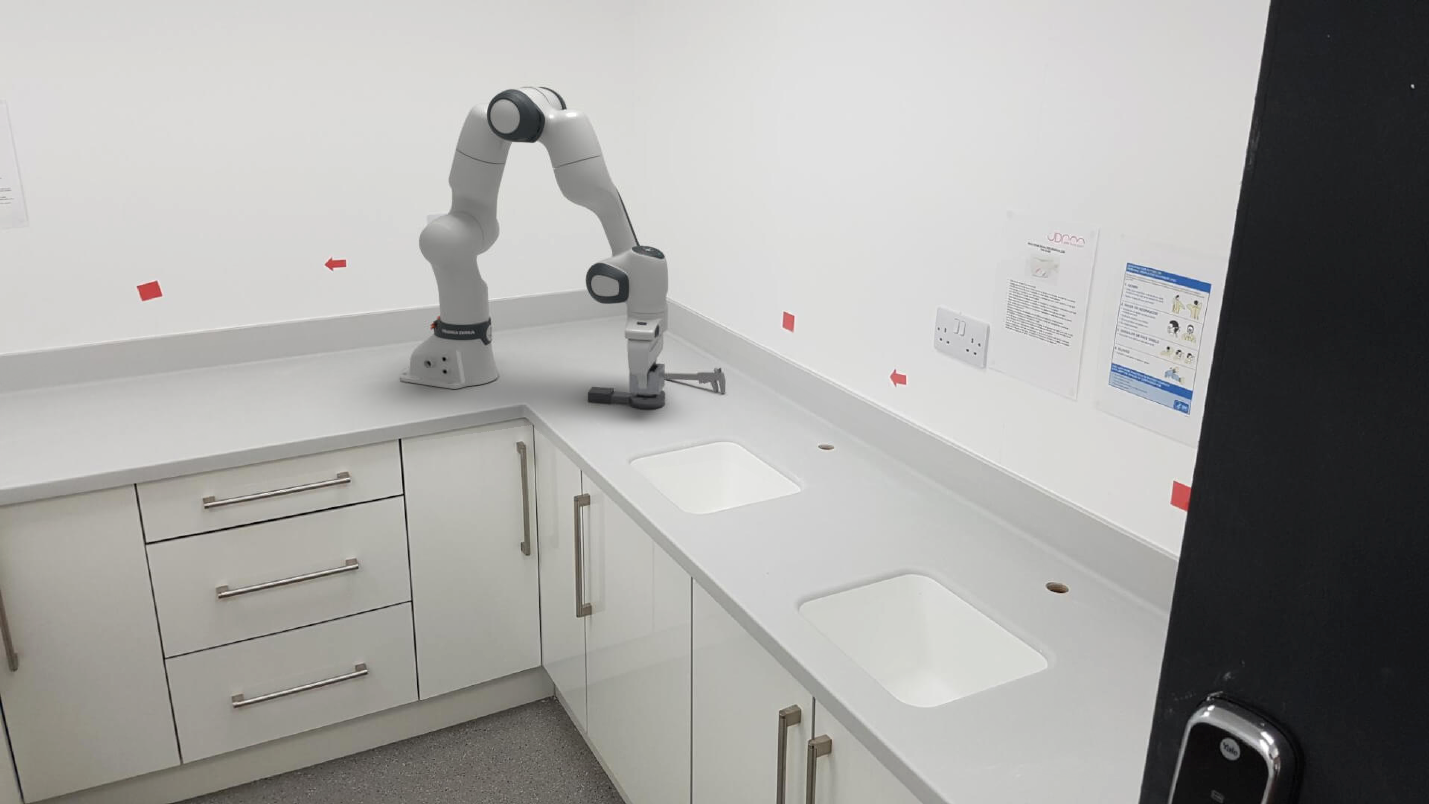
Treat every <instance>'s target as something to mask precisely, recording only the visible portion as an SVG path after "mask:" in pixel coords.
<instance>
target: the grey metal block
mask: <svg viewBox="0 0 1429 804" xmlns="http://www.w3.org/2000/svg"><path fill="white" fill-rule="evenodd" d="M665 365H666V364H665V363H658V362H656V363H653V365H652V366H651V368H650V369H649V371H648V373H647V379H648V386H647V387H646V389H640V388H639V387H638V378H637V375H635V374H631V373H630V371H629V373H628V375H629V376H628V377H629V380H628V382H629V383H628V384H629V385H628V389H629V391H628V393H642V394H656V395H659V394H660V392H661V390H663V388H664V387H665V384H666V383H665V380H666V379H665V373H666V372H665V371H666V369H665V368H666V366H665Z"/></svg>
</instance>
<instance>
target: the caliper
mask: <svg viewBox="0 0 1429 804" xmlns="http://www.w3.org/2000/svg"><path fill="white" fill-rule="evenodd" d="M665 380H670V381H671V380H673V381H675V380H677V381H679V380H680V381H681V380H682V381H698V383H699V385H701V384H704V385H705V384H708V383H710V385H711V387H712V390H713V393H715V394H717V393H719V392H720V394H721V395H722V394H725V393H726V376H725V372H723V371H722V367H715V368H713V371H698V372H697V373H696V372H695V373H694V372H665ZM719 389H720V391H719Z"/></svg>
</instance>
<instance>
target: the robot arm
mask: <svg viewBox="0 0 1429 804" xmlns="http://www.w3.org/2000/svg"><path fill="white" fill-rule="evenodd" d="M567 107H568V106H567V104H566V102H565V100H564V98H563V97H562V96H561V94H559V93H558V92H557V91H555V90H553V89H551V88H548V87H545V86H522V87H519V88H514V89H513V88H509V89H505V90H502V91H501V92H498V93H497V94H496V95H495V96H494V97H493V98H491V100H490V102H489V103H487V102H485V103H479V104H475V105H474V106H473V107H471V109H470V110H469V112H468V114H467V116H466V118H465V120H464V123H463V125H462V127H461V130H460V133H459V136H458V139H457V143H456V147H455V150H454V151H455V152H454V154H453V155H454V156H453V159H452V163H451V166H450V167H451V169H450V170H449V171H450V172H449V175H448V185H449V187H450V188H451V206H450V207H451V208H450V210H449V211H448V213H447V214H445V215H442V216H439V217H435V218H433V220H431V222H429V223H428V224H427V225H426V226H425V227H424V228H423V229H422V231H421V232H420V234H419V238H418V247H419V251H420V252H421V254H422V256H423V257H424V259H425V260H427V262H428V263H429V264H430V265H431V268H432V272H433V274H434V277H435V281H436V284H437V285H436V286H437V290H438V300H439V301H438V302H439V316H437V318H436V319H435V320H434V321H432V323H431V324H430V330H433V334H431V335H430V336H429V337H428V338H426V339H425V340H424V341H423V342H422V343H420V344H419V345H418V346H417V347H415V348H414V349H413V351H412V353H411V355H410V359H409V366H407V367H406V368H404V369H403V370H402V371H401V372H400V378H399V379H400V381H401V382H406V383H410V384H411V383H412V384H419V385H423V386H424V385H425V386H431V387H438V388H444V389H452V390H457V389H461V388H465V387H470V386H477V385H478V386H479V385H483V384H487V383H490V382H493V381H495V380H497V379H498V378H499V376H500V375H499V374H500V373H499V371H498V368H497V365H496V361H495V358H494V353H493V347H492V341H493V326H492V318H491V317H490V310H489V309H490V307H489V306H490V305H489V288H488V285H487V282H486V281H485V280H484V279H483V278H482V274H481V273H480V270H479V266H478V262H477V260H478V256H479V255H481V254H483V253H486V252H487V251H489V249H491V248H492V247H493V245H494V244H495V243H496V242H497V240H498V238H499V236H500V224H499V220H498V218H497V214H498V213H497V212H498V211H497V210H498V196H499V192H500V186H501V183H502V178H503V175H504V172H505V167H506V164H507V160H508V157H509V152H510V149H511V145H512V144H513V143H527V144H533V143H534V144H535V143H536V142H538V143H540V144H542V145H543V146H544V148H545V149H546V151H547V154H548V156H549V159H550V163H551V167H552V170H553V174H554V177H555V180H556V183H557V186H558V188H559V191H560V193H561V194H562V196H563V197H564V198H566V199H567V200H568V201H569V202H571V203H572V204H575V205H577V206H581V207H583V208H586V209H588V210H589V211H591V212H593V213H594V214H595V216H596V217H597V218H598V219H599V221H600V223H601V225H602V228H603V231H604V234H605V236H606V238H607V241H608V244H609V247H610V249H611V256H610V257H608V258H604V259H602V260H599V261H597V262H596V263H594V264H593V265H591V266H590V267H589V268H588V270H587V271H586V274H585V275H586V276H585V285H586V286H585V287H586V290H587V292H588V294H589V296H590V297H591V298H592V300H594V301H595V302H598V303H599V304H603V305H604V304H605V305H606V304H607V305H608V304H609V305H612V304H623V303H624V304H625V305H626V313H627V314H626V325H625V328H624V339H627V345H626V347H627V363H628V370H629V371H630V373H631V374H635V375H637V378H638V387H639V388H640V389H646V387H647V386H648V379H647V373H648V371H649V369H650V368H651V366H652V365H653V363H657V362H658V361H657V360H658V357H659V356H660V354H661V353H662V352H663V349H664V333H665V332H667V331H668V327H669V326H668V324H669V323H668V322H669V321H668V319H669V317H668V316H669V314H668V311H669V305H668V302H667V294H668V291H669V270H668V269H669V268H668V262H667V259H666V255H665V254H664V252H663V251H662V250H660V249H658V248H655V247H653V246H651V245H650V246H648V245H640V242H639V241H638V240H639V239H638V238H637V235H636V232H635V230H634V227H633V224H632V221H631V219H630V216H629V213H628V212H627V208H626V206H625V203H624V201H623V199H622V196H621V195H620V192H619V190H618V189H617V187H616V186H615V184H614V182H613V180H612V178H611V175H610V172H609V170H608V167H607V164H606V161H605V158H604V154H603V150H602V148H601V145H600V142H599V140H598V137H597V135H596V132H595V130H594V127H593V125H592V123H591V120H590V119H589V117H588V116H587V115H586V113H585V112H583V111H582V110H578V109H575V108H567Z"/></svg>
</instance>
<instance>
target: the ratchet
mask: <svg viewBox="0 0 1429 804" xmlns="http://www.w3.org/2000/svg"><path fill="white" fill-rule="evenodd" d="M587 403H590V404H592V403H593V404H602V405H603V404H604V405H611V404H612V405H613V404H614V405H615V404H616V405H627V406H628V405H629V407H630V408H633V409H636V410H642V411H644V410H645V411H647V410H648V411H653V410H659V409H661V408H664V406H665V405H666V393H665V391H664V390H663V389H662V390H661V392H660V394H659V395H656V394H642V393H629V392H623V391H615V387H613V388H612V387H605V386H604V387H601V386H591V388H590V389H589V391H588V392H587Z"/></svg>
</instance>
